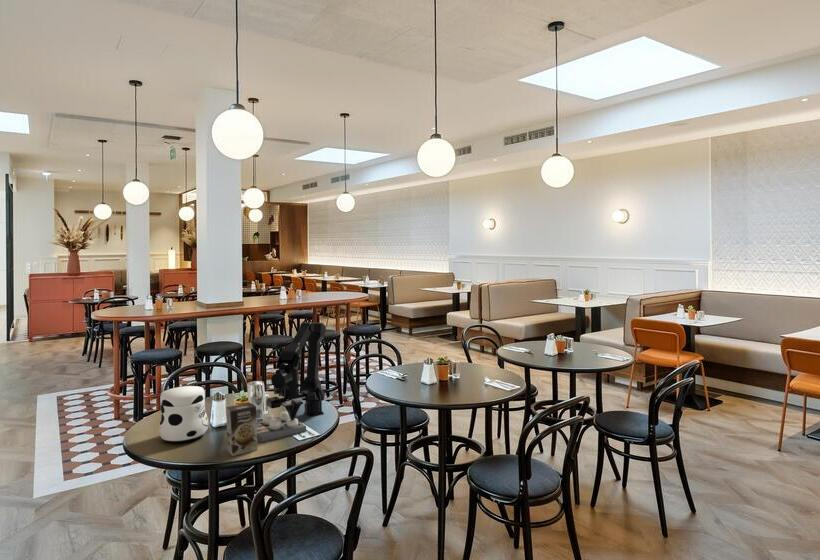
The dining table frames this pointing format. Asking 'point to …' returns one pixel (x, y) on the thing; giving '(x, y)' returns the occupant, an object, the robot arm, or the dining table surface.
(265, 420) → the button
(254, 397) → the beer glass
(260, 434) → the puzzle board
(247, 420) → the coffee box
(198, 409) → the milk container
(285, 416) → the button
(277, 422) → the button
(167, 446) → the dining table surface
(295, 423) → the button
